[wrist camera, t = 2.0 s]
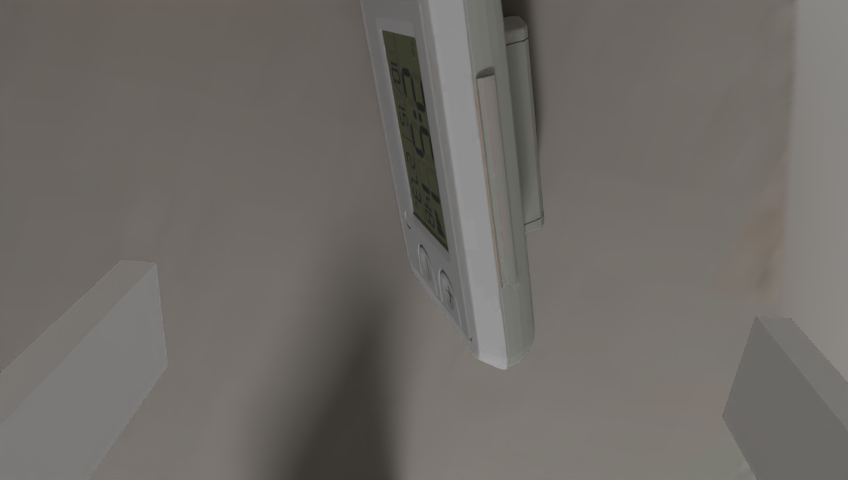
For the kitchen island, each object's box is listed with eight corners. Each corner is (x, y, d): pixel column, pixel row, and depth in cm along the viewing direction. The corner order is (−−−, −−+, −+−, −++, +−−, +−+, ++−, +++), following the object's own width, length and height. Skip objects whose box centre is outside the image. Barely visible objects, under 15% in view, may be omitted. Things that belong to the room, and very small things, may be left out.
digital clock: (360, -65, 29) (313, -69, 19) (565, -55, 28) (623, -54, 19) (360, 263, 35) (324, 383, 26) (525, 272, 35) (552, 397, 25)
